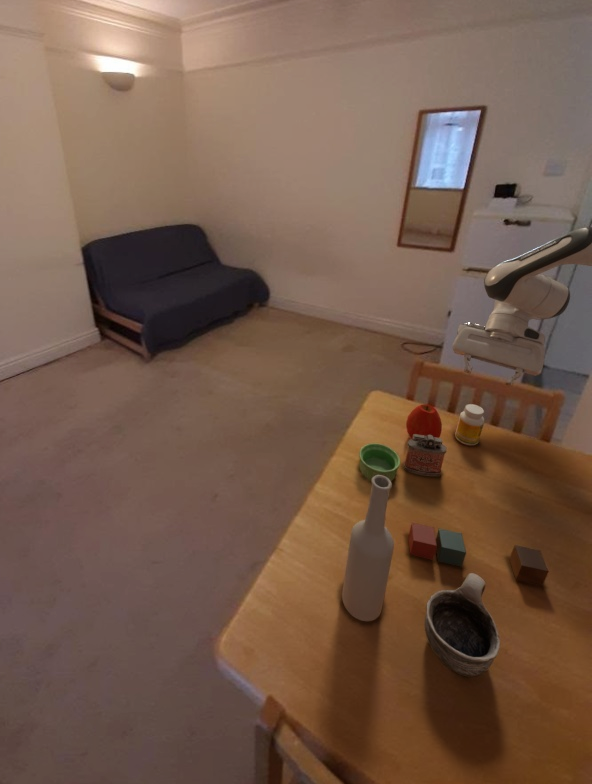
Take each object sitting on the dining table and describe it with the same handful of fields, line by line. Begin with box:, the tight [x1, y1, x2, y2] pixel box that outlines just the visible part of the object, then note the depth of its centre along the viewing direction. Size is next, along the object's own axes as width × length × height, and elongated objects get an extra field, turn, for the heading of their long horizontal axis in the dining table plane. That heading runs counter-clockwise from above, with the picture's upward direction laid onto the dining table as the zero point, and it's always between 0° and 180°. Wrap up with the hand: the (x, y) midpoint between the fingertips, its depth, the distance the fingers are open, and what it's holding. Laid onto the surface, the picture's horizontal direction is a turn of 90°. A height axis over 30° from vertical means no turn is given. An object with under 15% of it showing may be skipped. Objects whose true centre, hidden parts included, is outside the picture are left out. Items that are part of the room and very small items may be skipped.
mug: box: [424, 572, 501, 677], centre depth 62 cm, size 10×12×10 cm
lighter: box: [403, 434, 448, 477], centre depth 93 cm, size 8×3×10 cm, turn 74°
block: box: [435, 528, 467, 567], centre depth 75 cm, size 4×4×4 cm
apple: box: [405, 403, 443, 440], centre depth 102 cm, size 8×8×11 cm
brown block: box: [508, 544, 550, 587], centre depth 72 cm, size 4×4×4 cm
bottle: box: [341, 475, 395, 622], centre depth 63 cm, size 7×7×28 cm
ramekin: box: [358, 442, 401, 482], centre depth 94 cm, size 9×9×4 cm
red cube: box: [408, 522, 437, 560], centre depth 77 cm, size 4×4×4 cm
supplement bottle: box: [454, 403, 485, 446], centre depth 101 cm, size 5×5×10 cm
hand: (487, 378), depth 104 cm, fingers open, 8 cm apart
